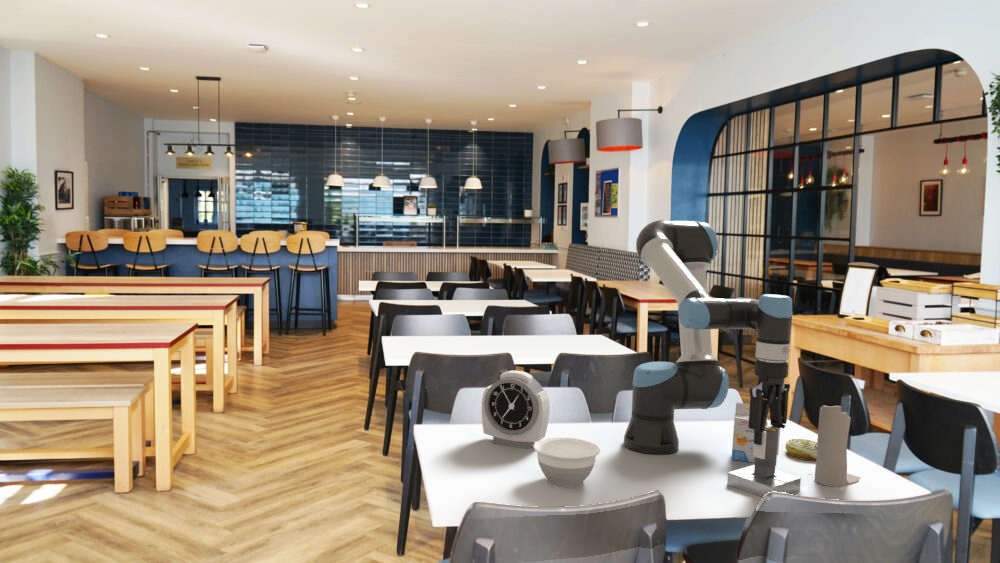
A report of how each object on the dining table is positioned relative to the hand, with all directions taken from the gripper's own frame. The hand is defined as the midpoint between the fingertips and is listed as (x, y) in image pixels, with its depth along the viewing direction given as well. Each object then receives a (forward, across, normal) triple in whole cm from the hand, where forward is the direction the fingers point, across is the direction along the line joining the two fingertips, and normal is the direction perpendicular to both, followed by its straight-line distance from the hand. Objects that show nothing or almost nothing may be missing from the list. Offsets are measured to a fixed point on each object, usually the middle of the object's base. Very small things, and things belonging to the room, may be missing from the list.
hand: (765, 455), depth 183 cm
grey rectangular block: (+5, 0, 0) cm, 5 cm away
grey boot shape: (+8, +22, -7) cm, 24 cm away
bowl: (+8, -38, +29) cm, 49 cm away
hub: (+8, 0, 0) cm, 8 cm away
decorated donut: (+8, +33, +9) cm, 35 cm away
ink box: (+8, +16, +15) cm, 23 cm away
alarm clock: (+8, -30, +59) cm, 67 cm away
